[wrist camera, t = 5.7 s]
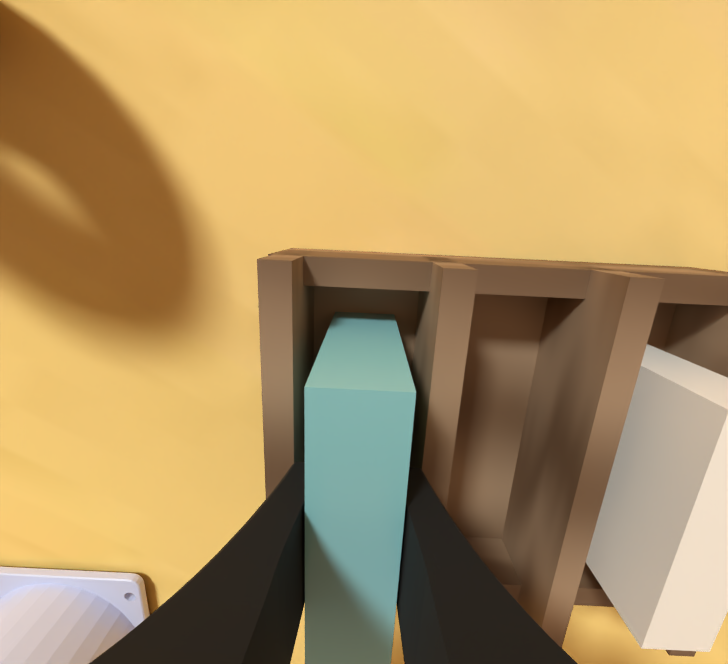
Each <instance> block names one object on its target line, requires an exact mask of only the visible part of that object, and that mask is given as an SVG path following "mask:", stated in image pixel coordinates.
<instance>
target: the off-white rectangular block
mask: <svg viewBox="0 0 728 664" xmlns="http://www.w3.org/2000/svg"><path fill="white" fill-rule="evenodd" d="M586 564H587V565H588V567H589V568H590V570H591V571H592V573H593V574H594V576H595V578H596V579H597V581H598V582H599V584H600V585H601V587H602V588H603V590H604V591H605V593H606V595H607V596H608V598H609V599H610V601H611V602H612V604H613V605H614V607H615V608H616V610H617V612H618V613H619V615H620V616H621V618H622V619H623V621H624V622H625V624H626V626H627V627H628V629H629V630H630V632H631V633H632V635H633V636H634V638H635V639H636V641H637V643H638V644H639V646H640V647H641V648H643V649H663V650H683V651H703V652H710V650H711V648H712V645H713V643H714V641H715V639H716V636H717V634H718V632H719V630H720V627H721V625H722V623H723V621H724V618H725V616H726V614H727V612H728V378H727V377H725V376H722V375H720V374H718V373H715V372H713V371H711V370H708V369H706V368H703V367H701V366H699V365H696V364H694V363H691V362H689V361H687V360H684V359H682V358H679V357H677V356H675V355H672V354H670V353H667V352H665V351H663V350H660V349H658V348H656V347H653V346H651V345H648V344H647V345H646V349H645V353H644V356H643V360H642V363H641V367H640V370H639V374H638V377H637V381H636V385H635V388H634V392H633V395H632V399H631V402H630V406H629V409H628V413H627V417H626V420H625V424H624V427H623V431H622V434H621V438H620V442H619V445H618V449H617V452H616V456H615V459H614V463H613V466H612V470H611V474H610V477H609V481H608V484H607V488H606V491H605V495H604V498H603V502H602V506H601V509H600V513H599V516H598V520H597V523H596V527H595V530H594V534H593V538H592V541H591V545H590V548H589V552H588V555H587V559H586Z"/></svg>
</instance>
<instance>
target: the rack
mask: <svg viewBox="0 0 728 664" xmlns="http://www.w3.org/2000/svg"><path fill="white" fill-rule="evenodd" d="M257 271H258V298H259V324H260V351H261V378H262V405H263V432H264V459H265V486H266V499H267V498H268V496H269V495H270V494H271V493H272V491H273V490H274V489H275V487H276V486H277V485H278V484H279V482H280V481H281V480H282V478H283V477H284V476H285V474H286V473H287V471H288V470H289V469H290V467H291V466H292V465H293V464H294V463H295V462H305V417H304V387H305V384H306V382H307V380H308V377H309V375H310V372H311V370H312V367H313V365H314V363H315V360H316V358H317V355H318V353H319V350H320V348H321V345H322V343H323V341H324V338H325V336H326V333H327V331H328V328H329V326H330V324H331V321H332V319H333V316H334V314H335V312H354V313H375V314H394V315H395V319H396V322H397V326H398V330H399V333H400V337H401V340H402V344H403V347H404V351H405V354H406V358H407V361H408V365H409V368H410V372H411V375H412V379H413V382H414V386H415V390H416V401H415V412H414V422H413V433H412V443H411V454H410V465H409V467H414V468H420V469H421V470H422V471H423V472H424V474H425V476H426V478H427V480H428V481H429V483H430V485H431V486H432V488H433V490H434V491H435V493H436V495H437V496H438V498H439V499H440V501H441V503H442V504H443V506H444V507H445V509H446V510H447V512H448V513H449V515H450V516H451V518H452V519H453V521H454V522H455V523H456V525H457V526H458V528H459V529H460V531H461V532H462V533H463V535H464V536H465V538H466V539H467V540H468V542H469V543H470V544H471V546H472V547H473V549H474V550H475V551H476V552H477V554H478V555H479V556H480V558H481V559H482V560H483V561H484V563H485V564H486V565H487V567H488V568H489V569H490V570H491V572H492V573H493V574H494V575H495V576H496V578H497V579H498V580H499V581H500V582H501V584H502V585H503V586H504V587H505V588H506V589H507V591H508V592H509V593H510V594H511V595H512V596H513V597H514V599H515V600H516V601H517V602H518V603H519V604H520V605H521V606H522V608H523V609H524V610H525V611H526V612H527V613H528V614H529V615H530V616H531V617H532V618H533V620H534V621H535V622H536V623H537V624H538V625H539V626H540V627H541V628H542V629H543V630H544V631H545V632H546V633H547V634H548V635H549V636H550V637H551V638H552V639H553V640H554V641H555V642H556V643H557V644H558V645H559V646H560V647H561V648H562V644H563V641H564V637H565V634H566V630H567V627H568V623H569V619H570V616H571V612H572V609H573V605H587V606H607V607H614V605H613V604H612V602H611V601H610V599H609V598H608V596H607V595H606V593H605V591H604V590H603V588H602V587H601V585H600V584H599V582H598V581H597V579H596V578H595V576H594V574H593V573H592V571H591V570H590V568H589V567H588V565H587V564H586V559H587V555H588V552H589V548H590V545H591V541H592V538H593V534H594V530H595V527H596V523H597V520H598V516H599V513H600V509H601V506H602V502H603V498H604V495H605V491H606V488H607V484H608V481H609V477H610V474H611V470H612V466H613V463H614V459H615V456H616V452H617V449H618V445H619V442H620V438H621V434H622V431H623V427H624V424H625V420H626V417H627V413H628V409H629V406H630V402H631V399H632V395H633V392H634V388H635V385H636V381H637V377H638V374H639V370H640V367H641V363H642V360H643V356H644V353H645V349H646V345H647V344H648V345H651V346H653V347H656V348H658V349H660V350H663V351H665V352H667V353H670V354H672V355H675V356H677V357H679V358H682V359H684V360H687V361H689V362H691V363H694V364H696V365H699V366H701V367H703V368H706V369H708V370H711V371H713V372H715V373H718V374H720V375H722V376H725V377H727V378H728V272H724V271H716V270H708V269H699V268H691V267H672V266H651V265H630V264H609V263H588V262H568V261H547V260H526V259H505V258H484V257H463V256H442V255H422V254H401V253H380V252H359V251H338V250H317V249H296V248H291V249H287V250H283V251H279V252H275V253H271V254H268V256H267V257H263V258H260V259H257ZM666 651H667V653H668V654H669V655H675V656H694V655H695V653H696V651H683V650H666Z"/></svg>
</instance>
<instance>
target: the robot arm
mask: <svg viewBox="0 0 728 664" xmlns="http://www.w3.org/2000/svg"><path fill="white" fill-rule="evenodd" d="M304 603H305V462H295V463H294V464H293V465H292V466H291V467H290V469H289V470H288V471H287V473H286V474H285V476H284V477H283V478H282V480H281V481H280V482H279V484H278V485H277V486H276V487H275V489H274V490H273V491H272V493H271V494H270V495H269V496H268V498H267V499H266V500H265V501H264V502H263V504H262V505H261V506H260V507H259V508H258V509H257V511H256V512H255V513H254V514H253V515H252V517H251V518H250V519H249V520H248V521H247V522H246V524H245V525H244V526H243V527H242V528H241V529H240V530H239V531H238V532H237V533H236V534H235V535H234V536H233V538H232V539H231V540H230V541H229V542H228V543H227V544H226V545H225V546H224V547H223V548H222V549H221V550H220V551H219V552H218V553H217V554H216V555H215V556H214V557H213V558H212V559H211V560H210V561H209V562H208V563H207V564H206V565H205V566H204V567H203V568H202V569H201V570H200V571H199V572H198V573H197V574H196V575H195V576H194V577H193V578H192V579H191V580H189V581H188V582H187V583H186V584H185V585H184V586H183V587H182V588H181V589H180V590H179V591H177V592H176V593H175V594H174V595H173V596H172V597H171V598H169V599H168V600H167V601H166V602H165V603H164V604H162V605H161V606H160V607H159V608H158V609H157V610H155V611H154V612H153V613H152V614H151V615H149V609H148V603H147V597H146V591H145V585H144V581H143V578H142V577H141V576H140V575H138V574H135V573H121V572H101V571H81V570H61V569H41V568H21V567H1V566H0V664H290V661H291V657H292V653H293V649H294V644H295V640H296V636H297V632H298V628H299V624H300V619H301V615H302V611H303V607H304ZM397 610H398V617H399V625H400V632H401V640H402V647H403V654H404V662H405V664H577V663H576V662H575V661H574V660H573V659H572V658H571V657H570V656H569V655H568V654H567V653H566V652H565V651H564V650H563V649H562V648H561V647H560V646H559V645H558V644H557V643H556V642H555V641H554V640H553V639H552V638H551V637H550V636H549V635H548V634H547V633H546V632H545V631H544V630H543V629H542V628H541V627H540V626H539V625H538V624H537V623H536V622H535V621H534V620H533V618H532V617H531V616H530V615H529V614H528V613H527V612H526V611H525V610H524V609H523V608H522V606H521V605H520V604H519V603H518V602H517V601H516V600H515V599H514V597H513V596H512V595H511V594H510V593H509V592H508V591H507V589H506V588H505V587H504V586H503V585H502V584H501V582H500V581H499V580H498V579H497V578H496V576H495V575H494V574H493V573H492V572H491V570H490V569H489V568H488V567H487V565H486V564H485V563H484V561H483V560H482V559H481V558H480V556H479V555H478V554H477V552H476V551H475V550H474V549H473V547H472V546H471V544H470V543H469V542H468V540H467V539H466V538H465V536H464V535H463V533H462V532H461V531H460V529H459V528H458V526H457V525H456V523H455V522H454V521H453V519H452V518H451V516H450V515H449V513H448V512H447V510H446V509H445V507H444V506H443V504H442V503H441V501H440V499H439V498H438V496H437V495H436V493H435V491H434V490H433V488H432V486H431V485H430V483H429V481H428V480H427V478H426V476H425V474H424V472H423V471H422V470H421V469H420V468H414V467H409V475H408V486H407V497H406V507H405V518H404V528H403V539H402V550H401V560H400V571H399V582H398V592H397Z"/></svg>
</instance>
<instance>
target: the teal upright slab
mask: <svg viewBox="0 0 728 664" xmlns="http://www.w3.org/2000/svg"><path fill="white" fill-rule="evenodd" d="M415 401H416V390H415V386H414V382H413V379H412V375H411V372H410V368H409V365H408V361H407V358H406V354H405V351H404V347H403V344H402V340H401V337H400V333H399V330H398V326H397V322H396V319H395V315H394V314H375V313H354V312H335V314H334V316H333V319H332V321H331V324H330V326H329V328H328V331H327V333H326V336H325V338H324V341H323V343H322V345H321V348H320V350H319V353H318V355H317V358H316V360H315V363H314V365H313V367H312V370H311V372H310V375H309V377H308V380H307V382H306V384H305V387H304V417H305V664H391V656H392V645H393V635H394V624H395V613H396V603H397V592H398V582H399V571H400V560H401V550H402V539H403V528H404V518H405V507H406V497H407V486H408V475H409V465H410V454H411V443H412V433H413V422H414V412H415Z"/></svg>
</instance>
